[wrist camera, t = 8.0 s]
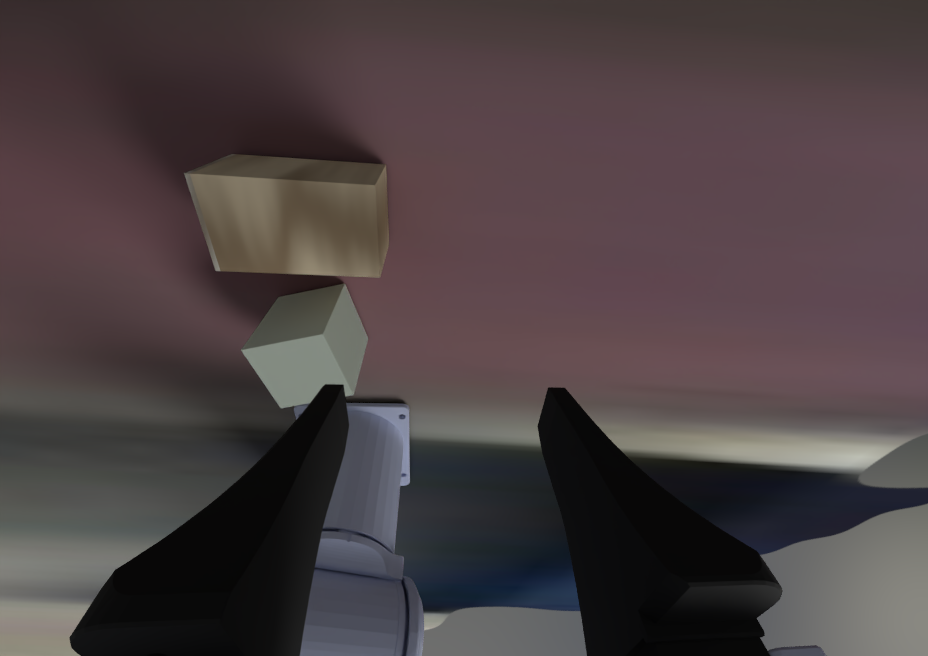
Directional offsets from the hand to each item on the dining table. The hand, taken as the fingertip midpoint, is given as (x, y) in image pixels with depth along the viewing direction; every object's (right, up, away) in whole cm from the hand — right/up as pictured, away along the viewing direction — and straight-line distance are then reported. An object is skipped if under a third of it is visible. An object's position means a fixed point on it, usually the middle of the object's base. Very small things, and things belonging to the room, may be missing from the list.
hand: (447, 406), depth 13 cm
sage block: (-8, +3, +9) cm, 13 cm away
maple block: (-10, +8, +3) cm, 13 cm away
